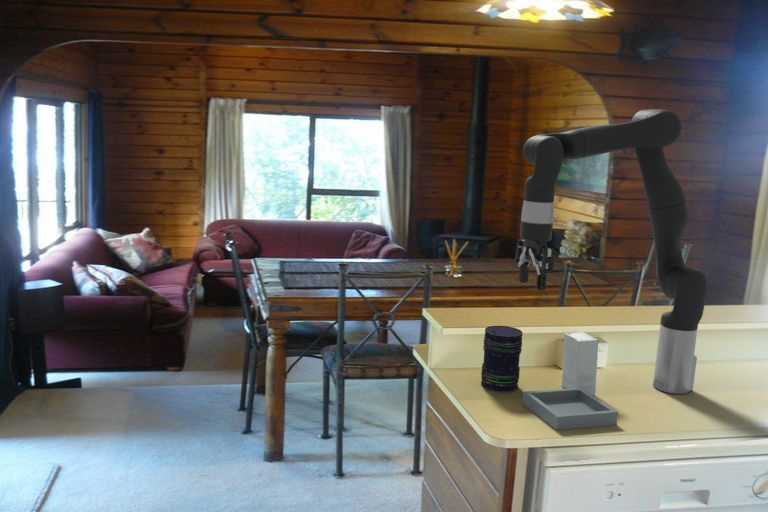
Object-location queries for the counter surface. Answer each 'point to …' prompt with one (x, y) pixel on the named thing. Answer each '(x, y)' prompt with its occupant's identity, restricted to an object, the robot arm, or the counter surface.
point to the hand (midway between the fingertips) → (531, 286)
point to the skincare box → (580, 362)
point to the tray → (569, 408)
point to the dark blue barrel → (501, 358)
